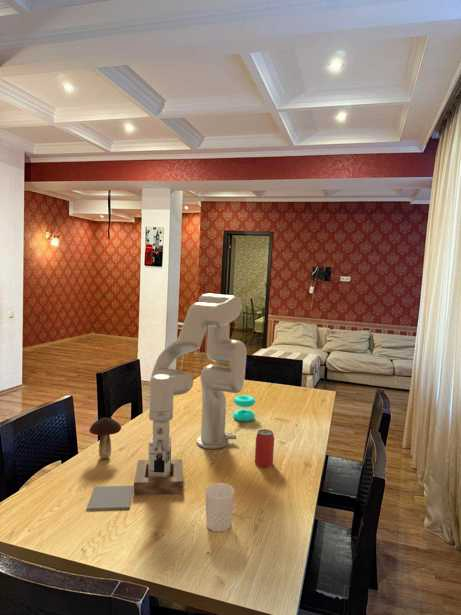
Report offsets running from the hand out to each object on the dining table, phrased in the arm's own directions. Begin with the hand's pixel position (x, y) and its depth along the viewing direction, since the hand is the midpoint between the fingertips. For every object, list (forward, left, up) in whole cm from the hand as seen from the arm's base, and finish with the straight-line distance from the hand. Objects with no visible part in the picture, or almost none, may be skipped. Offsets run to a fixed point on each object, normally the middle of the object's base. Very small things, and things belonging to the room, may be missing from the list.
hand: (159, 464), depth 139 cm
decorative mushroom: (+20, -18, -6) cm, 28 cm away
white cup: (-17, +24, -6) cm, 30 cm away
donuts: (-37, -57, -6) cm, 68 cm away
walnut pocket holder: (0, 0, -6) cm, 6 cm away
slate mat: (+14, +9, -6) cm, 18 cm away
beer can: (-37, -11, -6) cm, 39 cm away
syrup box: (0, 0, -6) cm, 6 cm away
